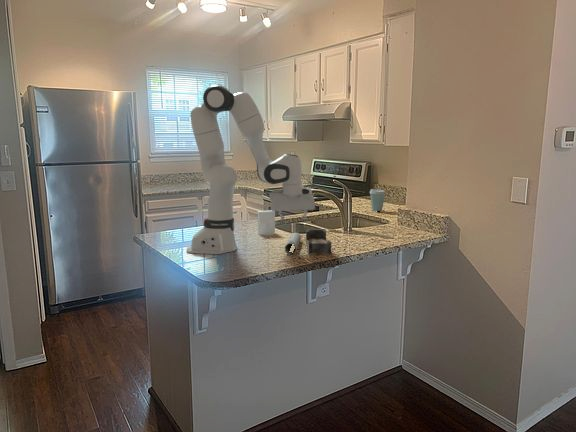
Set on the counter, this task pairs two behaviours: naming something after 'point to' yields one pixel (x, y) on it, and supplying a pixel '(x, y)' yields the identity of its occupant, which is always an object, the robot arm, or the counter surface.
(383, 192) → the disposable coffee cup
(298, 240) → the tube
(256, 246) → the counter surface
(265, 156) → the robot arm
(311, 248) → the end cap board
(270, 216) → the white upright block
